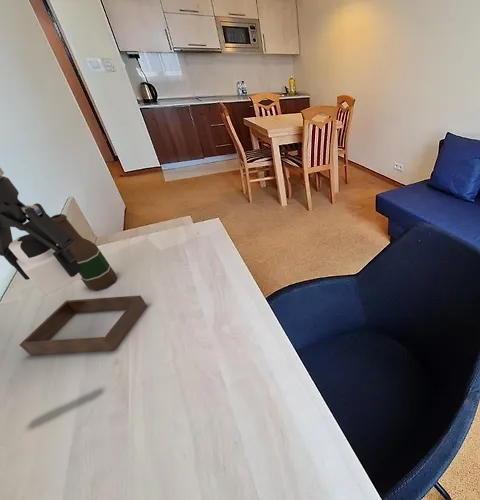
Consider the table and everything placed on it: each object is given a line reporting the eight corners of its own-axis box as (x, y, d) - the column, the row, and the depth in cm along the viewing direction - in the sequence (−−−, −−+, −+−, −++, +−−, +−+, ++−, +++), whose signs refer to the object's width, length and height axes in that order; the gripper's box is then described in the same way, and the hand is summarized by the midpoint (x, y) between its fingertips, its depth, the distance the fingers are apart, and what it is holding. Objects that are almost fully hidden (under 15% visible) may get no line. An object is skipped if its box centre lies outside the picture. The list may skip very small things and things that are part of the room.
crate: (33, 358, 73) (18, 344, 70) (76, 313, 85) (66, 300, 82) (116, 352, 72) (105, 339, 69) (148, 308, 84) (140, 295, 81)
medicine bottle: (73, 268, 74) (41, 226, 68) (83, 278, 71) (50, 235, 64) (36, 284, 70) (-2, 241, 63) (45, 296, 66) (6, 251, 59)
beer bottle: (86, 284, 95) (35, 218, 81) (114, 272, 100) (70, 207, 86) (92, 295, 91) (39, 226, 77) (121, 282, 95) (76, 214, 81)
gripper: (53, 170, 59) (112, 261, 72) (-57, 178, 60) (21, 267, 72) (19, 185, 53) (90, 282, 66) (-103, 194, 53) (-9, 288, 66)
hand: (54, 274), depth 69 cm, fingers closed on medicine bottle, 10 cm apart
